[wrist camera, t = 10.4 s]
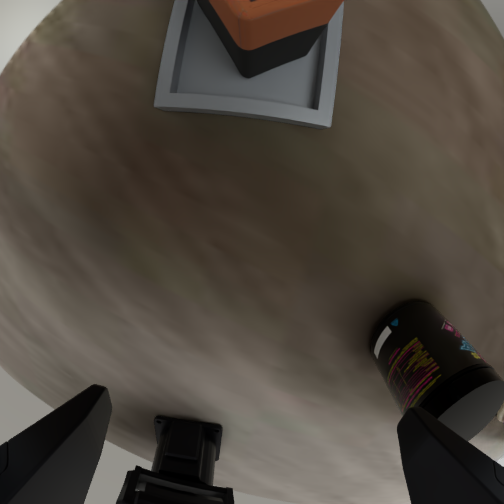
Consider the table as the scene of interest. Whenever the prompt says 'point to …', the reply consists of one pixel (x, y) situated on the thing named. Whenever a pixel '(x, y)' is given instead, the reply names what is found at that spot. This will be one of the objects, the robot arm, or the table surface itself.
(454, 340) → the supplement container
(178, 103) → the battery bay
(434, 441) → the robot arm
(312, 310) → the table surface
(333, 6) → the battery
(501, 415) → the stacking toy
